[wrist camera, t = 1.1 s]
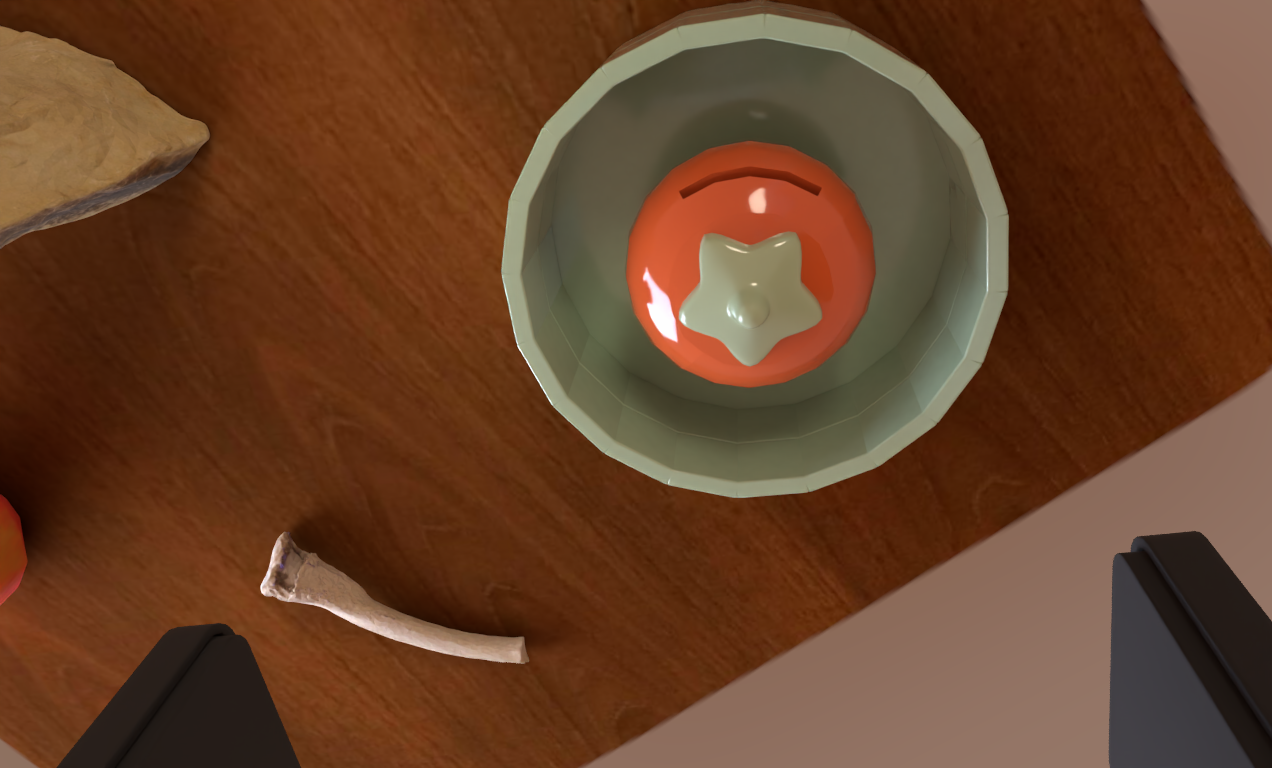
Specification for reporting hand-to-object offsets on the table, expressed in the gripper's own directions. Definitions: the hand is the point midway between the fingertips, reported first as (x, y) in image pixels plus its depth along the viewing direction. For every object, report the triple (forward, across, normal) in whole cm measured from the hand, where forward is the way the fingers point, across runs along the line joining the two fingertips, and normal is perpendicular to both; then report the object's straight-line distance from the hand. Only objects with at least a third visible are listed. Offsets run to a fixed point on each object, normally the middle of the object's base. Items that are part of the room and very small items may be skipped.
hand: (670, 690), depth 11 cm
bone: (+24, +15, +15) cm, 33 cm away
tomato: (+24, -1, +2) cm, 24 cm away
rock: (+24, +22, -7) cm, 33 cm away
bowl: (+24, -1, +2) cm, 24 cm away
